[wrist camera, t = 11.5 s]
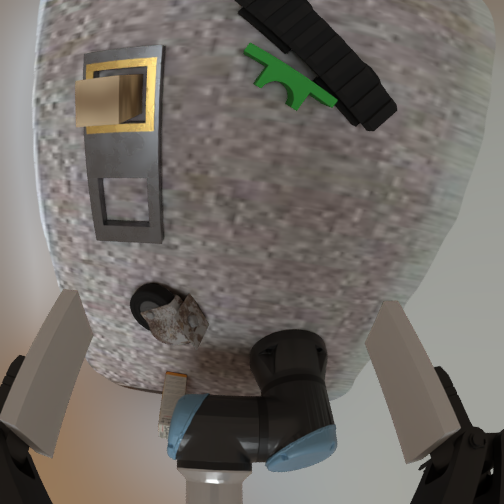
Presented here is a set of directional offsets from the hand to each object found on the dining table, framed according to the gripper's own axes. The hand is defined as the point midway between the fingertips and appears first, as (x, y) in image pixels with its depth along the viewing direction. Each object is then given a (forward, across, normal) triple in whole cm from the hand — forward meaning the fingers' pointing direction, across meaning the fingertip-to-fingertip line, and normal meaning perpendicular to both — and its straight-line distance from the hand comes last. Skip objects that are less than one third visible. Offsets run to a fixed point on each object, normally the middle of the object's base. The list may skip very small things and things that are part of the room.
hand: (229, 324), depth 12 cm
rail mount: (+28, -9, -14) cm, 33 cm away
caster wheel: (+29, +10, +26) cm, 40 cm away
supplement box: (+29, +11, +49) cm, 58 cm away
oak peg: (+28, +14, -8) cm, 32 cm away
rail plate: (+28, +14, -1) cm, 31 cm away
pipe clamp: (+28, -5, -9) cm, 30 cm away
